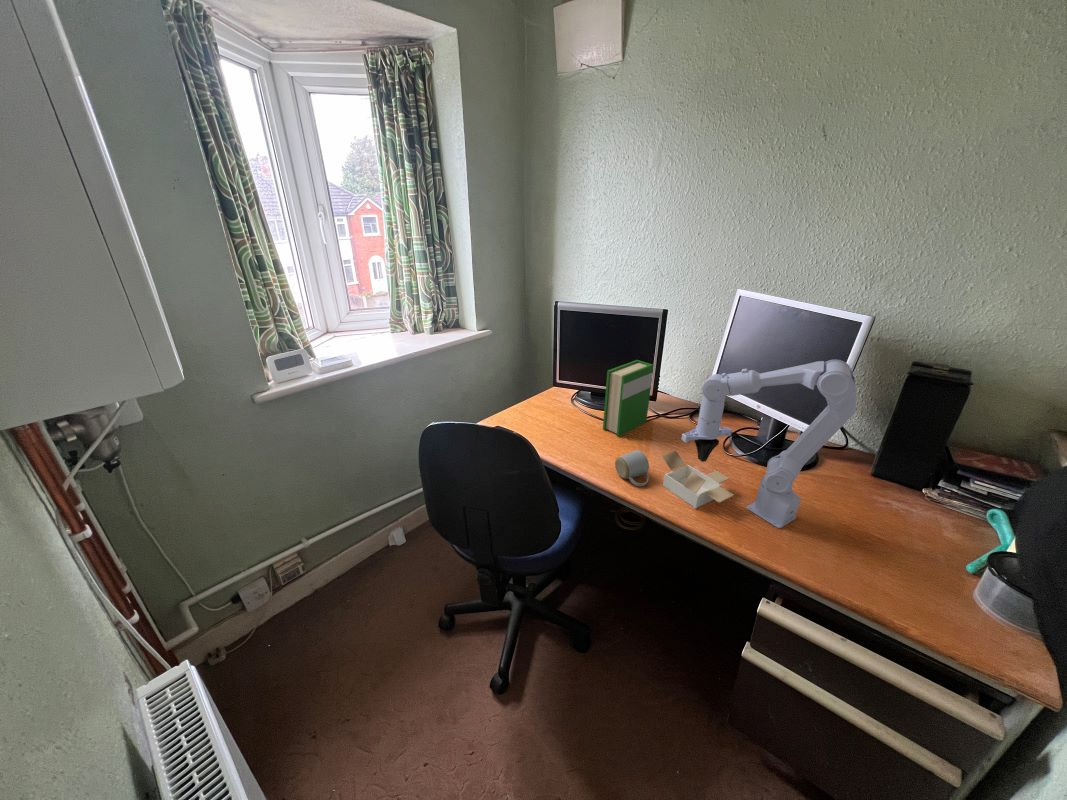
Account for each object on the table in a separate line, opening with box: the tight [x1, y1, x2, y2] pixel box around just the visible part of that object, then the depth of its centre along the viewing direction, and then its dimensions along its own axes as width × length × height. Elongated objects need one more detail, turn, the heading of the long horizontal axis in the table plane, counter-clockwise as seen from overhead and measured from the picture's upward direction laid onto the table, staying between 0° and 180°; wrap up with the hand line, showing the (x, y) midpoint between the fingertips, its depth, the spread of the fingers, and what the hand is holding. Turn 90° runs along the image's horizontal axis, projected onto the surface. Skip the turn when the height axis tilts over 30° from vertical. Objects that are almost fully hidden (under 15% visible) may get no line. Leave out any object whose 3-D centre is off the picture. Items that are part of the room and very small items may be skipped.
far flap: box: [661, 450, 686, 471], centre depth 123 cm, size 5×6×1 cm
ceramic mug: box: [614, 449, 650, 487], centre depth 123 cm, size 11×8×8 cm
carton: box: [662, 464, 734, 510], centre depth 117 cm, size 16×15×4 cm
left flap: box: [682, 472, 706, 493], centre depth 112 cm, size 4×4×1 cm
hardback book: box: [602, 359, 655, 438], centre depth 150 cm, size 18×7×24 cm, turn 131°
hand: (701, 459), depth 115 cm, fingers closed
